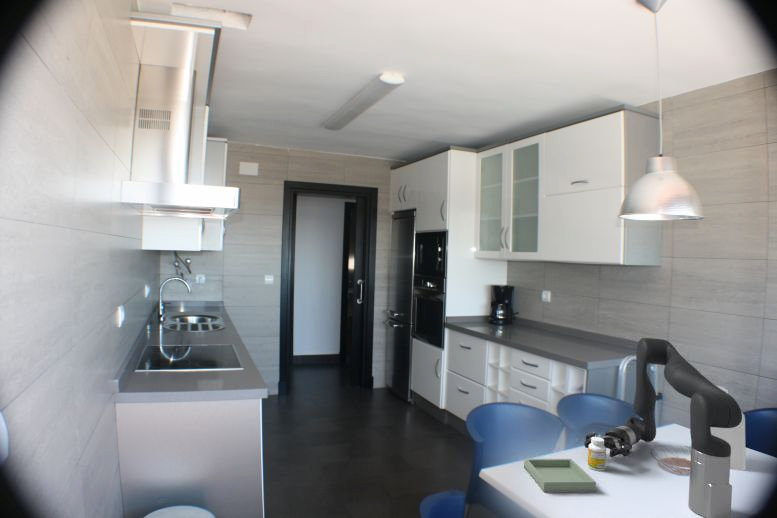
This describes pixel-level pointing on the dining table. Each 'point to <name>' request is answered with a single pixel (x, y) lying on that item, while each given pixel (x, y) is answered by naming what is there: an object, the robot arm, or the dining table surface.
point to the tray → (559, 475)
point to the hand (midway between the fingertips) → (598, 449)
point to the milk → (734, 441)
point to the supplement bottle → (597, 454)
